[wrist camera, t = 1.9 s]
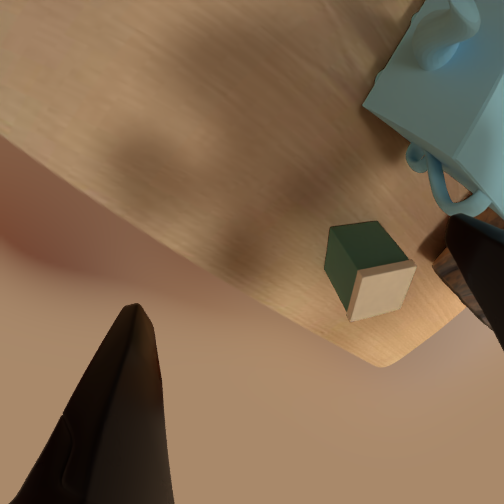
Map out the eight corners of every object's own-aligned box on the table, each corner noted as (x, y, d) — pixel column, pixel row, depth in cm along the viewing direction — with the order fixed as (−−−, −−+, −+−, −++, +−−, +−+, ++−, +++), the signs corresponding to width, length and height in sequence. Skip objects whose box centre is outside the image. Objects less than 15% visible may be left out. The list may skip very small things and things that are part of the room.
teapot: (438, 200, 25) (521, 285, 16) (267, 92, 17) (362, 166, 8) (515, 70, 17) (612, 119, 8) (380, -83, 9) (514, -110, 1)
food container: (378, 219, 25) (417, 266, 20) (368, 261, 28) (400, 309, 23) (328, 225, 24) (362, 277, 20) (322, 270, 27) (349, 322, 23)
